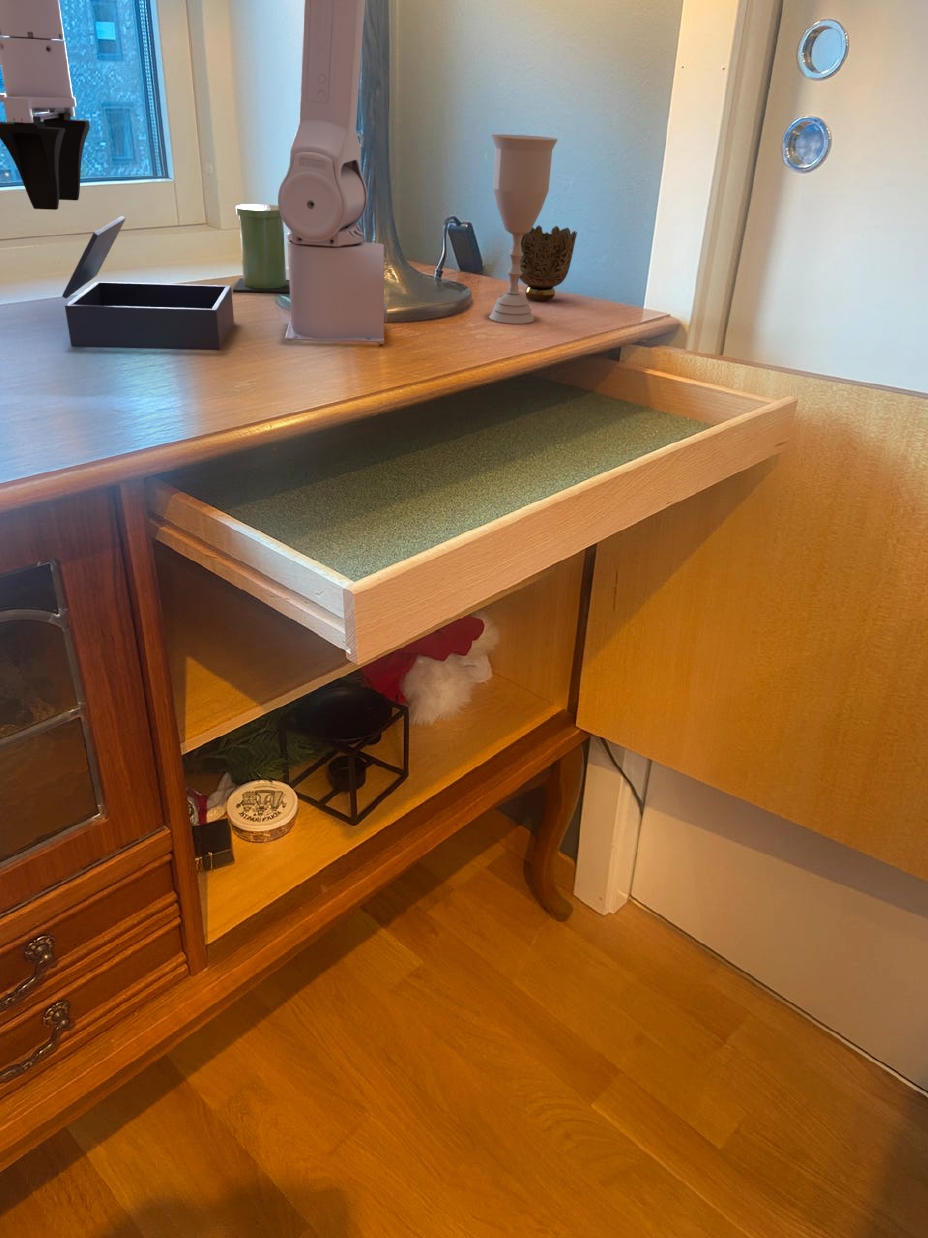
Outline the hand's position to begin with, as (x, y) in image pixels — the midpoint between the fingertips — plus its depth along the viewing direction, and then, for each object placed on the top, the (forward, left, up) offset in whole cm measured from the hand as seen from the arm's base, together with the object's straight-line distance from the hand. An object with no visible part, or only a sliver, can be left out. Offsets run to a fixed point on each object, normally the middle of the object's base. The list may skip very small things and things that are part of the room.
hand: (57, 204), depth 90 cm
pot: (-18, -16, -10) cm, 26 cm away
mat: (-18, -16, -10) cm, 26 cm away
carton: (-10, +9, -10) cm, 17 cm away
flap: (-5, +9, -3) cm, 11 cm away
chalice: (-46, -4, -11) cm, 47 cm away
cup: (-51, -15, -11) cm, 54 cm away
